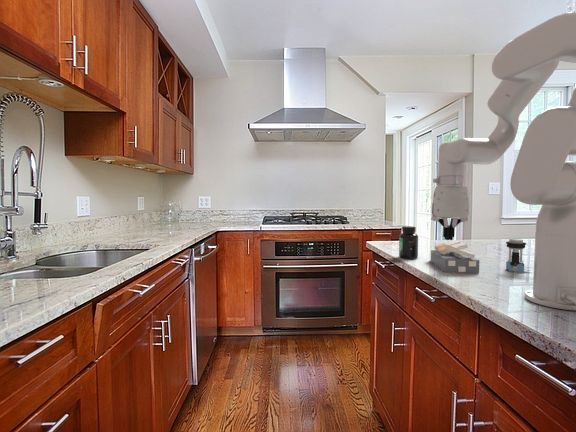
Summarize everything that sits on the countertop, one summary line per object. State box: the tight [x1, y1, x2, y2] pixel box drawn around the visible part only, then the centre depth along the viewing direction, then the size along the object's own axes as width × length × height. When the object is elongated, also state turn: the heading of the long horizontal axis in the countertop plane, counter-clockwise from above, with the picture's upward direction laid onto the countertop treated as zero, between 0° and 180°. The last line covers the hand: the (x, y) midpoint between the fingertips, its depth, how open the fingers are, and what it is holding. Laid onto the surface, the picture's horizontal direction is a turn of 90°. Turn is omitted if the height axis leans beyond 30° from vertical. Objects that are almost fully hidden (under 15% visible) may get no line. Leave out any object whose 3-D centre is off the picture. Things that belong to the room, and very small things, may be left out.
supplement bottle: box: [398, 225, 419, 260], centre depth 129 cm, size 7×7×12 cm
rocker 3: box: [445, 245, 476, 258], centre depth 107 cm, size 4×8×1 cm, turn 80°
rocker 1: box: [434, 239, 462, 251], centre depth 119 cm, size 4×8×1 cm, turn 80°
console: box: [430, 249, 480, 274], centre depth 113 cm, size 18×10×5 cm, turn 170°
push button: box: [505, 238, 531, 273], centre depth 106 cm, size 7×5×10 cm
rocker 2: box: [439, 241, 469, 254], centre depth 113 cm, size 4×8×1 cm, turn 80°
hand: (448, 239), depth 108 cm, fingers closed
